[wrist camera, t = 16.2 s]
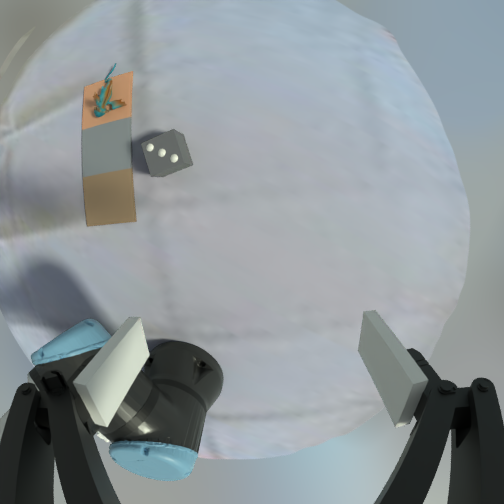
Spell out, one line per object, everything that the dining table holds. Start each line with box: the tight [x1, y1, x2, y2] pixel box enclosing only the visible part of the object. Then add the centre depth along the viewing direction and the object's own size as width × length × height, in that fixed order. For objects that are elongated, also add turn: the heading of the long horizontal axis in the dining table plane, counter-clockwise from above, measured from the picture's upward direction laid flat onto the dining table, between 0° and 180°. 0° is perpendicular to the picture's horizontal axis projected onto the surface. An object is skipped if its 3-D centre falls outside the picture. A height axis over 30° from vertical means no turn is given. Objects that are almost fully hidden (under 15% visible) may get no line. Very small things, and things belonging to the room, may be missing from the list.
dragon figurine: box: [93, 63, 127, 117], centre depth 34 cm, size 6×7×8 cm
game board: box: [82, 71, 136, 226], centre depth 38 cm, size 26×10×1 cm, turn 3°
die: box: [141, 129, 193, 177], centre depth 36 cm, size 5×5×5 cm
